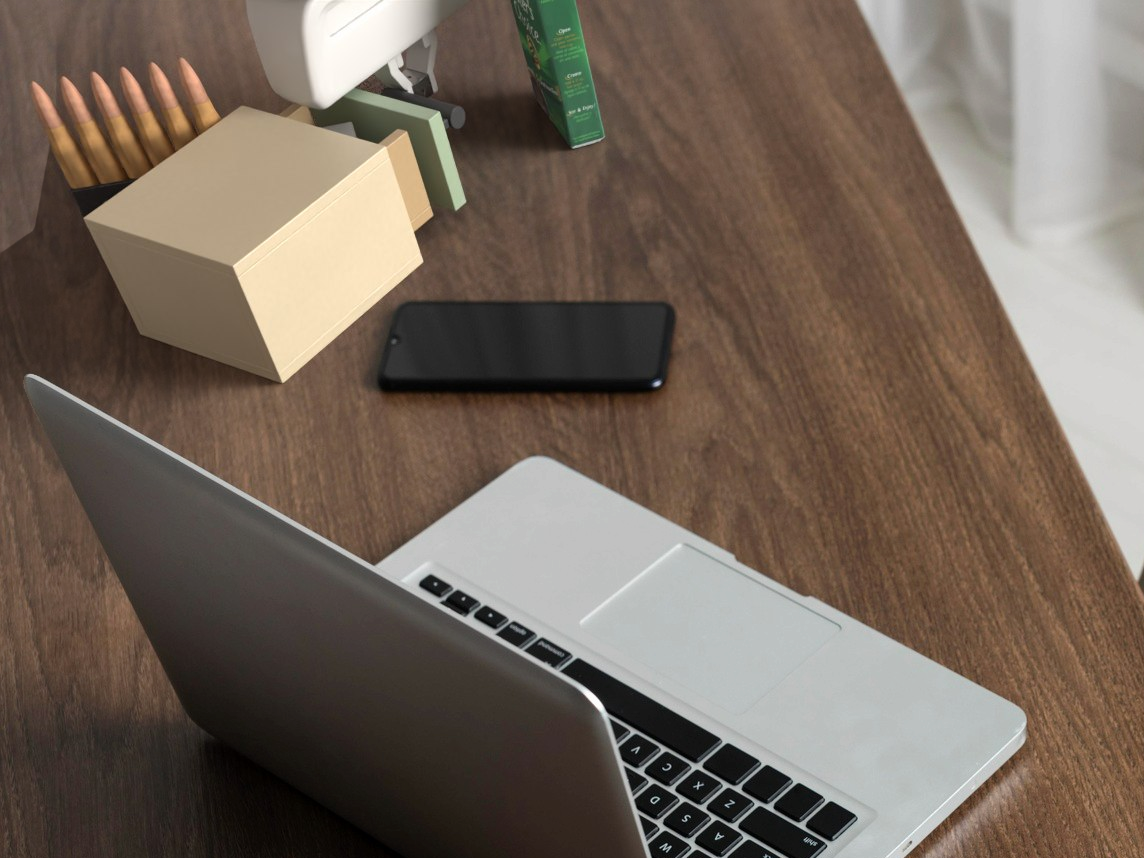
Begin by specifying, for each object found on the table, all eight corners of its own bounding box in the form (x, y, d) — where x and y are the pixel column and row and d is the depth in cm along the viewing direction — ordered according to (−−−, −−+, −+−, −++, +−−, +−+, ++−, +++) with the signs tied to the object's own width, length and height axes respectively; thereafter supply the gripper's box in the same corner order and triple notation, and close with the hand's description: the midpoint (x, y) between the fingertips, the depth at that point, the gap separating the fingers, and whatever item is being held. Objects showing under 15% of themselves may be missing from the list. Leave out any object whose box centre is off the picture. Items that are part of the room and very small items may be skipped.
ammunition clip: (268, 215, 115) (196, 47, 106) (267, 230, 114) (194, 62, 105) (104, 243, 114) (18, 76, 105) (101, 259, 113) (13, 91, 104)
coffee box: (531, 99, 125) (487, -78, 116) (568, 88, 126) (528, -88, 116) (569, 151, 121) (527, -28, 111) (607, 140, 122) (569, -39, 112)
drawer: (385, 135, 121) (355, 45, 116) (505, 169, 118) (480, 79, 113) (218, 265, 111) (178, 174, 106) (344, 306, 108) (309, 214, 103)
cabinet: (286, 219, 116) (241, 104, 110) (423, 262, 113) (386, 145, 106) (139, 334, 108) (82, 217, 102) (282, 384, 105) (232, 266, 98)
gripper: (420, -172, 116) (471, 21, 126) (207, -37, 104) (283, 164, 114) (497, -155, 114) (542, 39, 124) (288, -16, 102) (358, 186, 112)
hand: (416, 100), depth 119 cm, fingers closed
